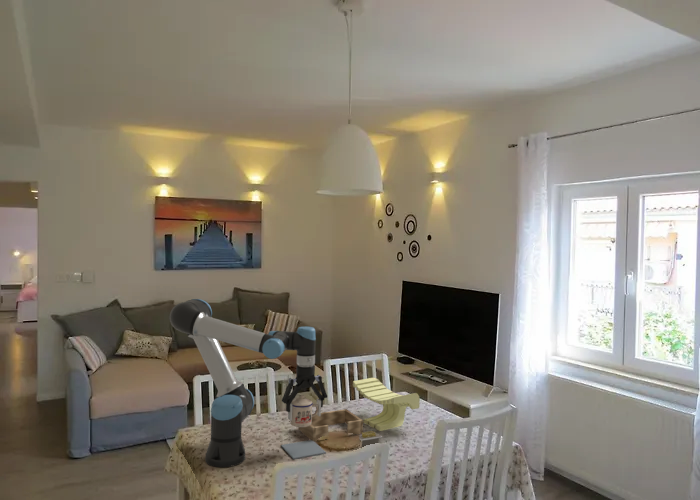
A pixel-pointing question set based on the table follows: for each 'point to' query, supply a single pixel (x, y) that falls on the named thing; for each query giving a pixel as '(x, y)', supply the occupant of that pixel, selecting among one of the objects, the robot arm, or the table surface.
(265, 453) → the table surface
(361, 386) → the slatted curved stool
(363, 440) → the platform
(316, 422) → the open enclosure
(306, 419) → the teacup with lid
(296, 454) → the mat
